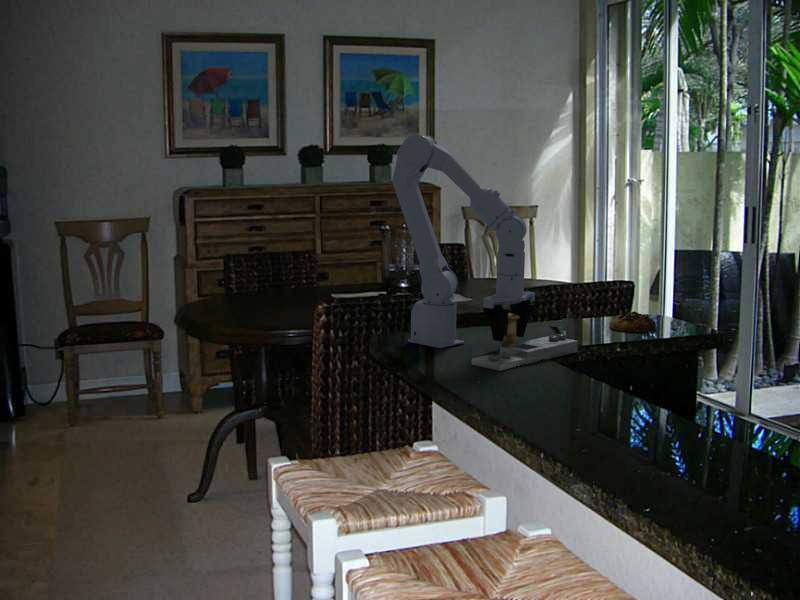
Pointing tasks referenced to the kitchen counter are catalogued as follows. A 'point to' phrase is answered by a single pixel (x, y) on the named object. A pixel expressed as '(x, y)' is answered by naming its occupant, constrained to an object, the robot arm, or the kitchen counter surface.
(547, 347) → the right chain end
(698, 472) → the kitchen counter surface
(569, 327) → the caliper
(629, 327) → the bread roll
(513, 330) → the pin
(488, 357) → the square window plate
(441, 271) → the robot arm
